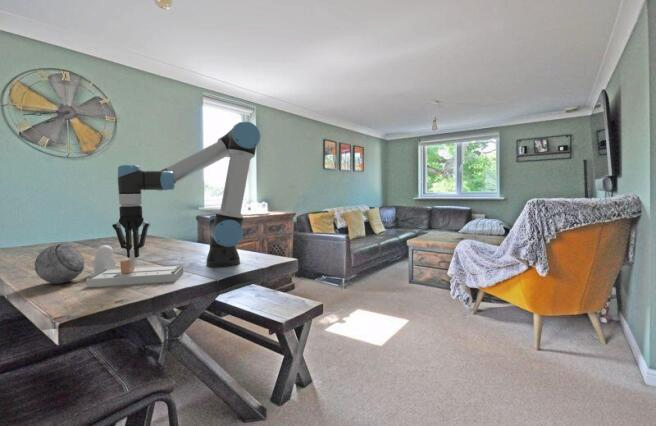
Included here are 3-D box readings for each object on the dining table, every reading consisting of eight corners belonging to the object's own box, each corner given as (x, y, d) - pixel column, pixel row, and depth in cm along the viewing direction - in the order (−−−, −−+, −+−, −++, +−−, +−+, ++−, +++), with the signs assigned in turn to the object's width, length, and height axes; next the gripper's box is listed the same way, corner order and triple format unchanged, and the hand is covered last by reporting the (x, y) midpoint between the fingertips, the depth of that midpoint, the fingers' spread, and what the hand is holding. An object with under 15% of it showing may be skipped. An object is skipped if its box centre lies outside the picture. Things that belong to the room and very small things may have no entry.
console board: (183, 272, 140) (183, 264, 139) (175, 281, 126) (175, 271, 126) (103, 277, 133) (103, 268, 133) (86, 287, 120) (86, 277, 119)
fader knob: (134, 270, 131) (133, 257, 131) (129, 273, 127) (128, 260, 126) (125, 270, 131) (125, 258, 130) (120, 273, 126) (120, 260, 126)
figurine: (104, 275, 136) (103, 247, 135) (89, 275, 138) (87, 246, 137) (118, 271, 143) (117, 244, 142) (104, 271, 145) (102, 243, 144)
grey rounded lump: (70, 287, 121) (67, 246, 120) (25, 289, 118) (22, 247, 117) (92, 276, 135) (90, 240, 134) (52, 278, 133) (50, 241, 132)
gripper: (152, 204, 132) (154, 262, 134) (115, 205, 130) (119, 264, 131) (146, 205, 125) (148, 267, 127) (107, 206, 122) (111, 269, 124)
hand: (133, 265), depth 129 cm, fingers closed
